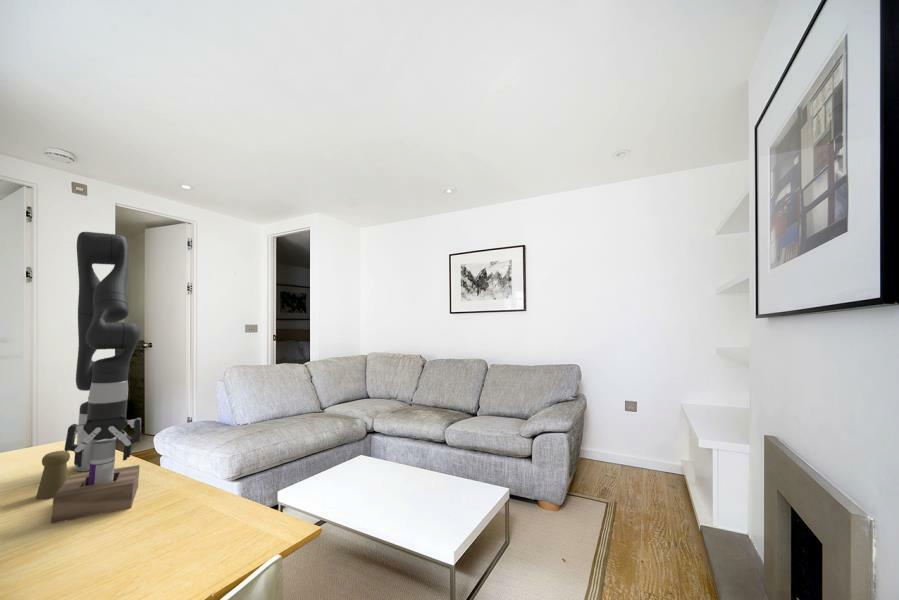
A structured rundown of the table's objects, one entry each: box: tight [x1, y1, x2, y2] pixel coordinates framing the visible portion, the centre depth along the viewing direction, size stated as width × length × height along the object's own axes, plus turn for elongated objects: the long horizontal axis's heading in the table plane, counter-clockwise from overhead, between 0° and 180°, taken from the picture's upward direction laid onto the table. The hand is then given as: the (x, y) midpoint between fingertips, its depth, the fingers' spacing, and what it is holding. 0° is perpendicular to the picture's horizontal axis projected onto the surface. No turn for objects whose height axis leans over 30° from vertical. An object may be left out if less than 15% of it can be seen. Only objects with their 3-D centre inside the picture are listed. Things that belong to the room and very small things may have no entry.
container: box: [88, 439, 117, 485], centre depth 94 cm, size 5×5×15 cm
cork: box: [35, 450, 71, 500], centre depth 99 cm, size 6×6×11 cm
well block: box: [50, 464, 141, 524], centre depth 94 cm, size 14×14×6 cm
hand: (103, 462), depth 95 cm, fingers open, 8 cm apart
